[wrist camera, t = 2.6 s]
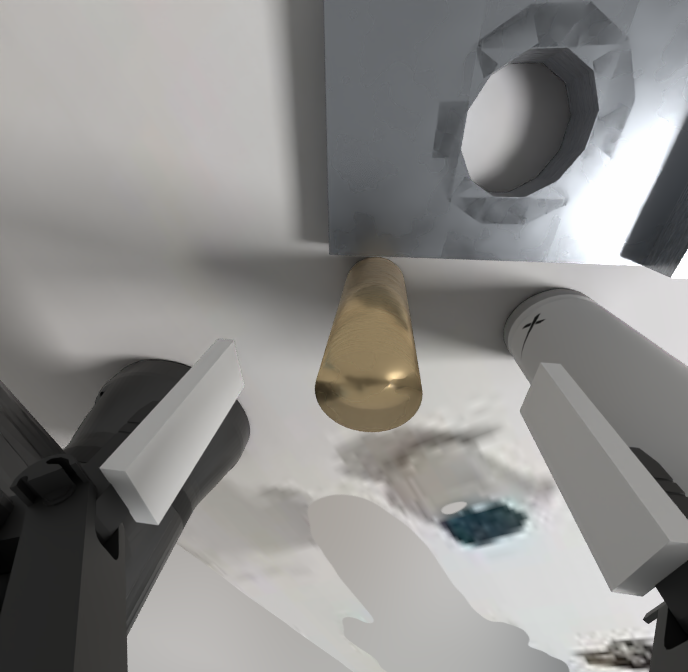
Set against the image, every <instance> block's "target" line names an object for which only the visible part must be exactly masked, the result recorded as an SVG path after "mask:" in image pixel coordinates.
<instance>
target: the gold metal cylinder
mask: <svg viewBox="0 0 688 672" xmlns="http://www.w3.org/2000/svg"><path fill="white" fill-rule="evenodd" d="M315 394H316V398H317V401H318V403H319V405H320V407H321V409H322V410H323V411H324V412H325V414H326V415H327V416H329V417H330V418H331V419H332V420H334V421H335V422H337V423H338V424H340V425H342V426H345V427H347V428H350V429H353V430H357V431H363V432H380V431H386V430H391V429H393V428H396V427H398V426H401V425H402V424H404V423H406V422H407V421H408V420H410V419H411V418H412V417H413V416H414V415H415V413H416V412H417V410H418V409H419V407H420V405H421V401H422V386H421V379H420V373H419V367H418V361H417V355H416V349H415V343H414V337H413V330H412V324H411V318H410V312H409V306H408V300H407V294H406V288H405V282H404V277H403V274H402V272H401V270H400V269H399V268H398V266H396V265H395V264H394V263H393V262H391V261H390V260H387V259H385V258H381V257H370V258H366V259H363V260H361V261H360V262H358V263H357V264H355V265H354V266H353V267H352V269H351V270H350V272H349V273H348V276H347V279H346V282H345V285H344V289H343V292H342V296H341V299H340V302H339V306H338V309H337V312H336V316H335V319H334V322H333V326H332V329H331V332H330V336H329V339H328V342H327V346H326V349H325V352H324V356H323V359H322V363H321V366H320V369H319V373H318V376H317V379H316V384H315Z"/></svg>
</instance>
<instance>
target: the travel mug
mask: <svg viewBox="0 0 688 672" xmlns="http://www.w3.org/2000/svg"><path fill="white" fill-rule="evenodd" d="M504 342H505V344H506V347H507V348H508V350H509V351H510V353H511V355H512V356H513V357H514V359H515V361H516V362H517V364H518V366H519V367H520V369H521V370H522V372H523V373H524V375H525V377H526V378H527V380H528V381H529V383H530V384H531V383H532V381H533V379H534V376H535V374H536V372H537V369H538V367H539V365H540V362H542V363H556V364H561V365H562V366H563V367H564V369H565V370H566V371H567V372H568V374H569V375H570V376H571V377H572V378H573V380H574V381H575V382H576V383H577V385H578V386H579V387H580V388H581V390H582V391H583V392H584V393H585V394H586V396H587V397H588V398H589V399H590V401H591V402H592V403H593V404H594V405H595V407H596V408H597V409H598V410H599V412H600V413H601V414H602V415H603V416H604V418H605V419H606V420H607V421H608V423H609V424H610V425H611V426H612V427H613V429H614V430H615V431H616V432H617V434H618V435H619V436H620V437H621V439H622V440H623V441H624V442H625V443H626V445H627V446H628V447H636V448H640V449H641V450H643V451H644V452H645V453H647V454H648V455H649V456H650V457H652V458H653V459H654V460H656V461H657V462H658V463H659V464H660V465H661V466H662V467H663V468H664V470H665V471H666V472H667V473H668V474H669V475H670V476H671V478H672V479H673V482H674V483H677V484H678V486H679V487H680V488H681V489H682V490H683V491H684V492H685V496H686V497H688V366H686V365H685V364H683V363H682V362H681V361H679V360H678V359H676V358H675V357H673V356H672V355H670V354H669V353H668V352H666V351H665V350H663V349H662V348H660V347H659V346H658V345H656V344H655V343H653V342H652V341H650V340H649V339H648V338H646V337H645V336H643V335H642V334H640V333H639V332H638V331H636V330H635V329H633V328H632V327H630V326H629V325H628V324H626V323H625V322H623V321H622V320H620V319H619V318H618V317H616V316H615V315H613V314H612V313H610V312H609V311H608V310H606V309H605V308H603V307H602V306H600V305H598V304H597V303H596V302H595V301H593V300H592V299H590V298H589V297H588V296H586V295H584V294H582V293H581V292H578V291H574V290H569V289H555V290H549V291H545V292H542V293H539V294H537V295H534V296H532V297H530V298H529V299H527V300H525V301H524V302H523V303H521V304H520V305H519V306H518V307H517V308H516V309H515V310H514V311H513V312H512V314H511V315H510V317H509V318H508V320H507V322H506V325H505V327H504Z"/></svg>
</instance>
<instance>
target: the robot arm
mask: <svg viewBox="0 0 688 672" xmlns="http://www.w3.org/2000/svg"><path fill="white" fill-rule="evenodd" d="M243 388H244V382H243V378H242V373H241V369H240V364H239V360H238V355H237V351H236V346H235V342H234V340H228V339H217V341H216V342H215V343H214V344H213V345H212V346H211V347H210V348H209V349H208V350H207V351H206V352H205V354H204V355H203V356H202V357H201V358H200V359H199V360H198V361H197V362H196V363H195V364H194V366H193V367H192V368H190V367H188V366H185V365H182V364H178V363H174V362H168V361H160V360H148V361H141V362H137V363H134V364H131V365H129V366H127V367H126V368H124V369H123V370H122V371H120V372H119V373H118V374H117V375H115V376H114V377H113V378H112V379H111V380H109V381H108V382H107V383H106V384H105V385H104V386H103V388H102V389H101V390H100V392H99V394H98V396H97V398H96V401H95V406H94V407H93V408H92V410H91V411H90V412H89V414H88V415H87V416H86V418H85V419H84V421H83V422H82V424H81V425H80V427H79V428H78V430H77V431H76V433H75V435H74V436H73V438H72V440H71V441H70V443H69V444H68V445H67V446H66V447H65V448H64V449H62V448H61V447H60V446H59V445H58V444H57V443H56V442H55V441H54V439H53V438H52V437H51V436H50V435H49V434H48V433H47V432H46V431H45V429H44V428H43V427H42V426H41V425H40V424H39V423H38V422H37V420H36V419H35V418H34V417H33V416H32V415H31V414H30V413H29V412H28V410H27V409H26V408H25V407H24V406H23V405H22V404H21V403H20V402H19V400H18V399H17V398H16V397H15V396H14V395H13V394H12V393H11V392H10V390H9V389H8V388H7V387H6V386H5V385H4V384H3V383H2V382H1V380H0V672H128V671H127V635H128V633H129V631H130V629H131V628H132V625H133V624H134V622H135V620H136V618H137V616H138V614H139V612H140V610H141V608H142V607H143V605H144V603H145V601H146V599H147V597H148V595H149V593H150V591H151V589H152V587H153V585H154V584H155V582H156V580H157V578H158V576H159V574H160V572H161V570H162V568H163V566H164V565H165V563H166V561H167V559H168V557H169V555H170V553H171V551H172V550H173V547H174V546H175V544H176V542H177V540H178V538H179V536H180V535H181V533H182V530H183V529H184V527H185V525H186V523H187V521H188V519H189V517H190V516H191V514H192V512H193V510H194V509H195V507H196V506H197V505H198V503H199V502H200V501H201V500H202V499H203V498H204V497H205V496H206V495H207V494H208V493H209V492H210V491H211V490H212V489H213V488H214V487H215V486H216V485H217V484H218V482H219V481H220V480H221V479H222V478H223V477H224V476H225V475H226V474H227V472H228V471H229V470H231V469H232V468H233V467H234V466H235V464H236V463H237V462H238V460H239V459H240V457H241V455H242V453H243V451H244V449H245V447H246V444H247V442H248V440H249V436H250V426H249V421H248V418H247V415H246V413H245V411H244V409H243V408H242V406H241V405H240V403H239V402H238V401H237V398H238V396H239V394H240V393H241V391H242V389H243ZM520 413H521V415H522V417H523V419H524V421H525V423H526V425H527V427H528V429H529V431H530V433H531V435H532V437H533V439H534V441H535V442H536V444H537V446H538V448H539V450H540V452H541V454H542V456H543V458H544V460H545V462H546V464H547V466H548V468H549V470H550V472H551V474H552V476H553V478H554V480H555V482H556V484H557V486H558V488H559V490H560V492H561V494H562V496H563V498H564V500H565V502H566V504H567V506H568V508H569V509H570V511H571V513H572V515H573V517H574V519H575V521H576V523H577V525H578V527H579V529H580V531H581V533H582V535H583V537H584V539H585V541H586V543H587V545H588V547H589V549H590V551H591V553H592V555H593V557H594V559H595V561H596V563H597V565H598V567H599V569H600V571H601V573H602V575H603V576H604V578H605V580H606V582H607V584H608V586H609V588H610V590H611V592H616V593H623V594H629V595H636V596H644V595H645V594H647V593H648V592H649V591H650V590H652V589H653V588H654V587H656V588H657V590H658V591H659V593H660V595H661V596H662V598H663V599H664V602H663V603H661V604H660V605H658V606H657V607H655V608H654V609H652V610H651V611H650V612H648V613H647V614H646V615H645V617H644V619H643V620H644V621H645V622H646V623H648V624H649V623H651V622H652V621H654V620H655V619H657V623H656V630H655V636H654V643H653V650H652V657H651V663H650V670H649V672H688V497H686V496H685V492H684V491H683V490H682V489H681V488H680V487H679V486H678V484H677V483H674V482H673V479H672V478H671V476H670V475H669V474H668V473H667V472H666V471H665V470H664V468H663V467H662V466H661V465H660V464H659V463H658V462H657V461H656V460H654V459H653V458H652V457H650V456H649V455H648V454H647V453H645V452H644V451H643V450H641V449H640V448H636V447H628V446H627V445H626V443H625V442H624V441H623V440H622V439H621V437H620V436H619V435H618V434H617V432H616V431H615V430H614V429H613V427H612V426H611V425H610V424H609V423H608V421H607V420H606V419H605V418H604V416H603V415H602V414H601V413H600V412H599V410H598V409H597V408H596V407H595V405H594V404H593V403H592V402H591V401H590V399H589V398H588V397H587V396H586V394H585V393H584V392H583V391H582V390H581V388H580V387H579V386H578V385H577V383H576V382H575V381H574V380H573V378H572V377H571V376H570V375H569V374H568V372H567V371H566V370H565V369H564V367H563V366H562V365H561V364H556V363H542V362H540V365H539V367H538V369H537V372H536V374H535V376H534V379H533V381H532V383H531V386H530V388H529V390H528V393H527V395H526V397H525V400H524V402H523V404H522V407H521V409H520Z"/></svg>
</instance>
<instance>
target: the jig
mask: <svg viewBox="0 0 688 672" xmlns="http://www.w3.org/2000/svg"><path fill="white" fill-rule="evenodd" d="M324 38H325V82H326V126H327V171H328V215H329V254H330V255H358V256H386V257H414V258H442V259H470V260H498V261H526V262H554V263H582V264H610V265H638V266H645V267H647V268H650V269H652V270H654V271H657V272H659V273H661V274H663V275H666V276H668V277H670V278H688V0H324ZM540 62H542V63H543V64H545V65H546V66H547V67H548V68H549V69H550V70H552V71H553V72H554V73H555V74H556V75H557V76H558V77H560V78H561V79H562V80H563V81H564V82H565V84H566V90H567V95H568V101H569V107H570V112H571V117H570V120H569V123H568V126H567V129H566V133H565V136H564V139H563V142H562V145H561V148H560V151H559V152H558V153H557V154H556V155H555V157H554V158H553V159H552V160H551V161H550V163H549V164H548V165H547V166H546V167H545V168H544V170H543V171H542V172H541V173H540V174H539V176H538V177H537V178H535V179H533V180H531V181H529V182H527V183H526V184H524V185H522V186H520V187H518V188H516V189H514V190H512V191H510V192H486V191H485V190H484V189H482V188H481V187H480V186H478V185H477V184H476V183H474V182H473V181H471V179H470V176H469V173H468V170H467V167H466V164H465V161H464V158H463V155H462V152H461V145H462V140H463V134H464V128H465V122H466V117H467V111H468V109H469V108H470V106H471V105H472V103H473V102H474V100H475V99H476V97H477V96H478V94H479V92H480V91H481V89H482V88H483V86H484V85H485V83H486V82H487V80H488V79H489V77H490V76H491V75H492V74H494V73H495V72H497V71H498V70H500V69H501V68H503V67H504V66H506V65H507V64H509V63H540Z"/></svg>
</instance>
